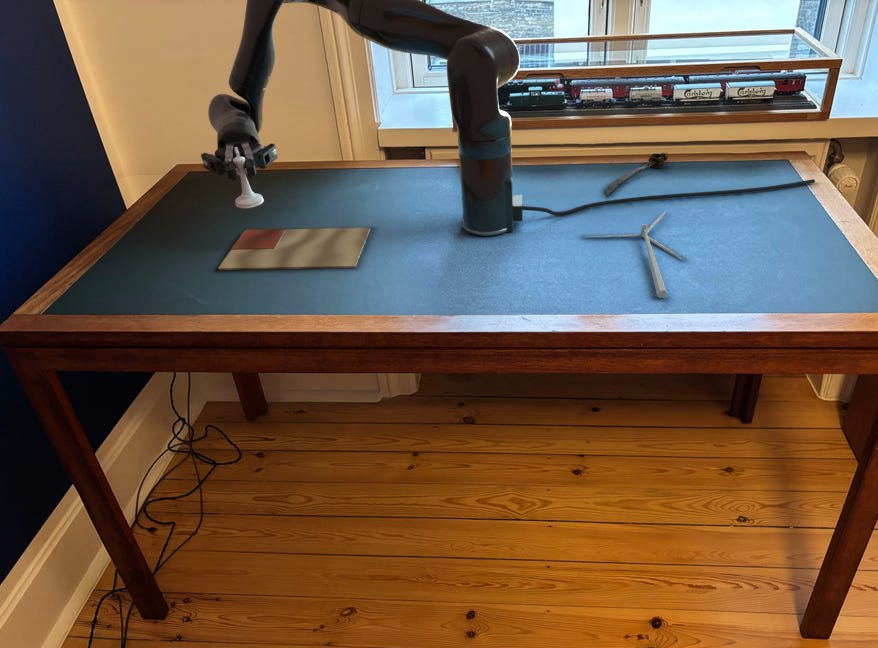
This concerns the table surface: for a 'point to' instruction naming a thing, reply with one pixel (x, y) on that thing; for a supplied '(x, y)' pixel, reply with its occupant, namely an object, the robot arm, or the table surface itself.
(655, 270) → the wind turbine model
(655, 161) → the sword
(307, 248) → the corner board
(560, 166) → the table surface
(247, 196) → the chess piece
